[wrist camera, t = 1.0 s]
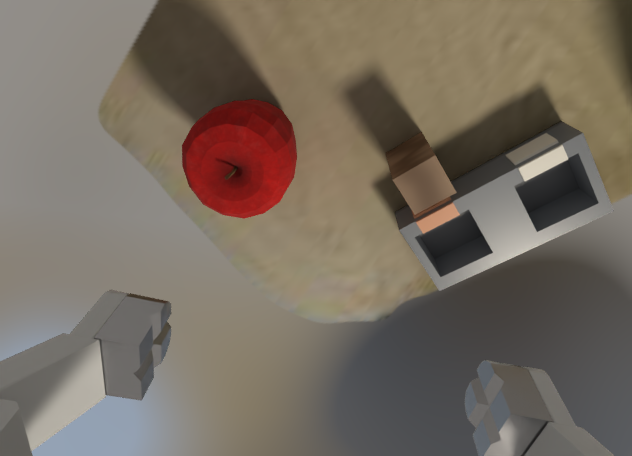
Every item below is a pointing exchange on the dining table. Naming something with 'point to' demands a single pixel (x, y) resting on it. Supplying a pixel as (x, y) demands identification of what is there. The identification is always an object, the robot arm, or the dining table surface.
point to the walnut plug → (419, 174)
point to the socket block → (508, 206)
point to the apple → (240, 157)
